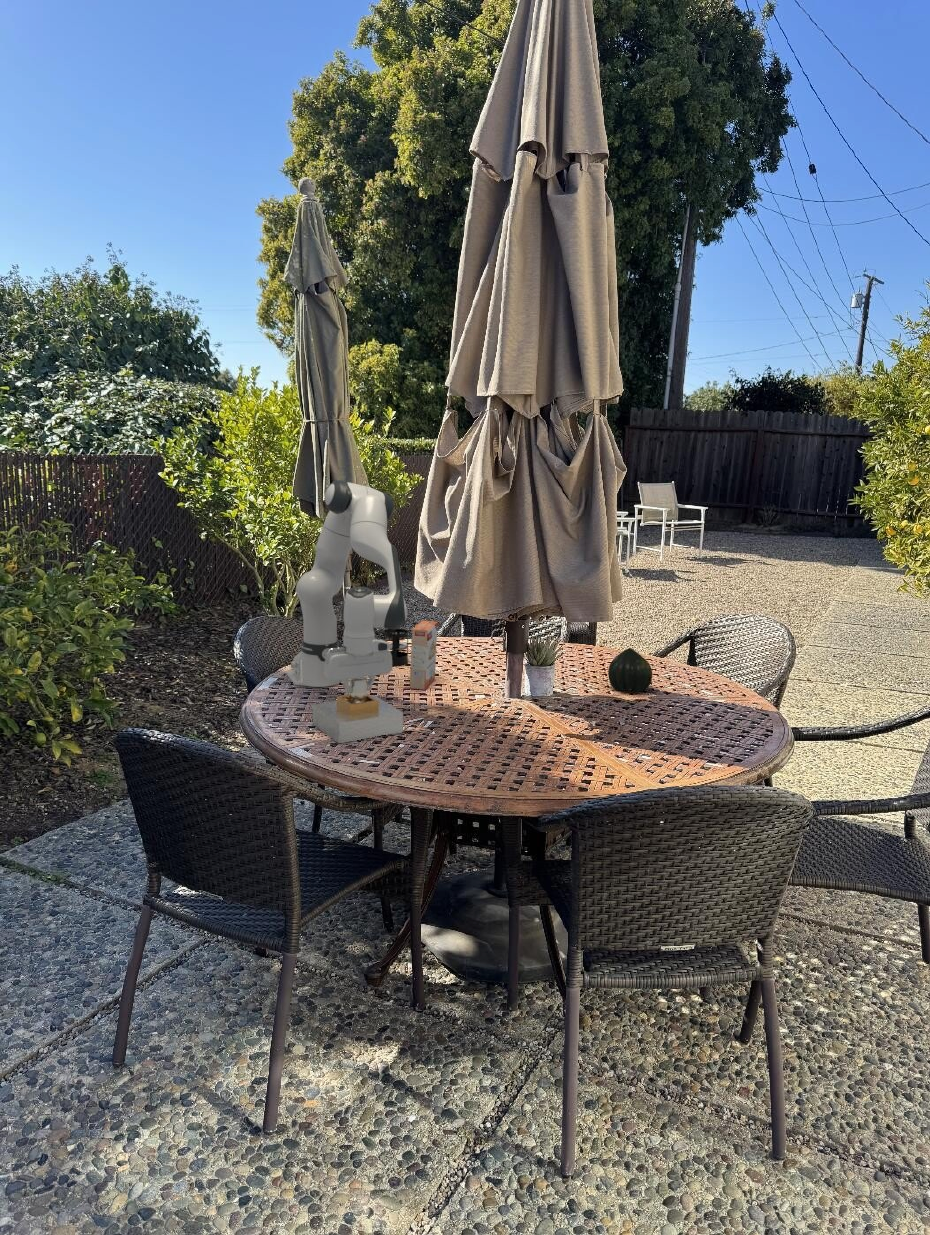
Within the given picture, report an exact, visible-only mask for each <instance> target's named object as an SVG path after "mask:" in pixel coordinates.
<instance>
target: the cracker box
mask: <svg viewBox="0 0 930 1235" xmlns="http://www.w3.org/2000/svg"><path fill="white" fill-rule="evenodd" d="M437 636H438V622H437V621H433V620H432V621H431V620H421V621H420V622H419V623H418V624H416V625H415V626H414V627H412V629H411V645H410V646H411V647H410V648H411V652H410V670H409V671H410V672H409V673H410V676H409V689H411V690H418V689H419V691H426V690H427V689H428V688H429V686H430V685H431V684H432V683H433V682H434V681H435V679H436V665H437V664H436V662H437V661H436V660H437V659H436V658H437V644H438V643H437V641H438V639H437V638H438V637H437Z"/></svg>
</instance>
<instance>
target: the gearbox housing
mask: <svg viewBox="0 0 930 1235" xmlns="http://www.w3.org/2000/svg"><path fill="white" fill-rule="evenodd" d="M312 726H315V727H316V728H317V729H318V730H320V731H321V732H323V733H324V734H325V735H326V734H327V735H326V736H328V737H329V738H330V739H332V740H333V741H335V743H337V742H338V743H342V744H345V743H344V742H348V743H350V742H349V741H353V742H357V740H359V741H362V740H361V739H364V740H367V739H366V738H370V739H372V738H371V737H375V736H376V737H375V738H378V737H377V736H381V735H386V736H389V735H388V734H392V735H396V734H403V733H402V732H404V731H403V730H404V727H403V726H404V712H403V711H401V710H399V708H396V707H395V706H393V705H391V704H390V703H388V702H387V701H385V700H383V699H381V698H380V697H378V696H376V695H370V694H368V693H367V702H361V703H354V704H351V703H350V694H344V695H337V696H336V700H334V701H327V702H321V703H314V704H312ZM381 737H382V736H381ZM338 743H337V744H338Z"/></svg>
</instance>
